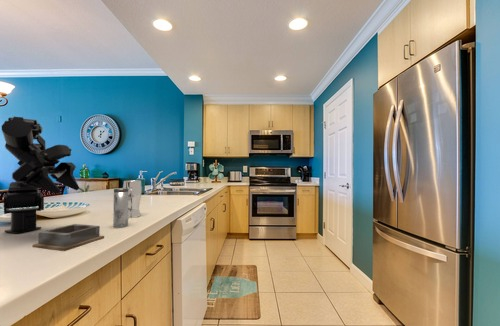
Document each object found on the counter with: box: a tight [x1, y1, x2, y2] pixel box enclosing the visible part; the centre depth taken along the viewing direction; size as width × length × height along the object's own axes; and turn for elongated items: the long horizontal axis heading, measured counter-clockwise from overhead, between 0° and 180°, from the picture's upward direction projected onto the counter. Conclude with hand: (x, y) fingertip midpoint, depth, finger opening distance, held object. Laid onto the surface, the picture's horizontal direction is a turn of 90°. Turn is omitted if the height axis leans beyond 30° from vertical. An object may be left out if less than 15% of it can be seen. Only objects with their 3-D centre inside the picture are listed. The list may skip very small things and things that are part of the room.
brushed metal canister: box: [112, 187, 129, 229], centre depth 81 cm, size 4×4×13 cm
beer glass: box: [122, 179, 143, 219], centre depth 98 cm, size 7×7×15 cm
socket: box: [32, 223, 105, 252], centre depth 63 cm, size 11×11×4 cm
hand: (69, 190), depth 70 cm, fingers open, 9 cm apart
